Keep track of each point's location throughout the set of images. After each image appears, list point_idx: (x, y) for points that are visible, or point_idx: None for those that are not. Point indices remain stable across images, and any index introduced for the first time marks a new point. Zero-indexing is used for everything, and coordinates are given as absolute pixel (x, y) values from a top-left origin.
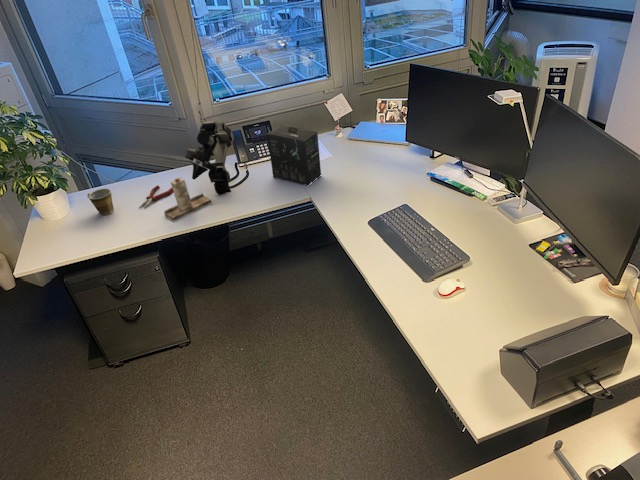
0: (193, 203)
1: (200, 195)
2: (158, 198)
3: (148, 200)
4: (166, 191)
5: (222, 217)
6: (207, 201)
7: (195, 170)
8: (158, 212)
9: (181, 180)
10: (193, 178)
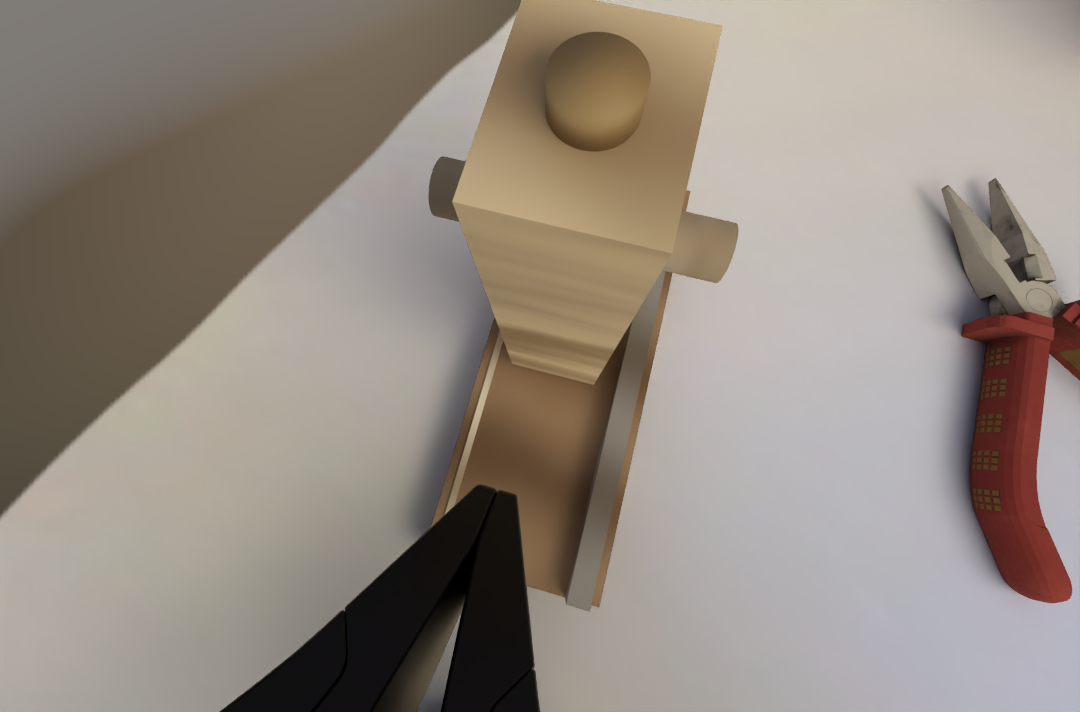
0: (547, 415)
1: (574, 561)
2: (991, 368)
3: (1030, 280)
4: (1033, 481)
5: (169, 375)
6: (437, 510)
7: (368, 689)
8: (773, 214)
9: (504, 150)
10: (470, 497)
